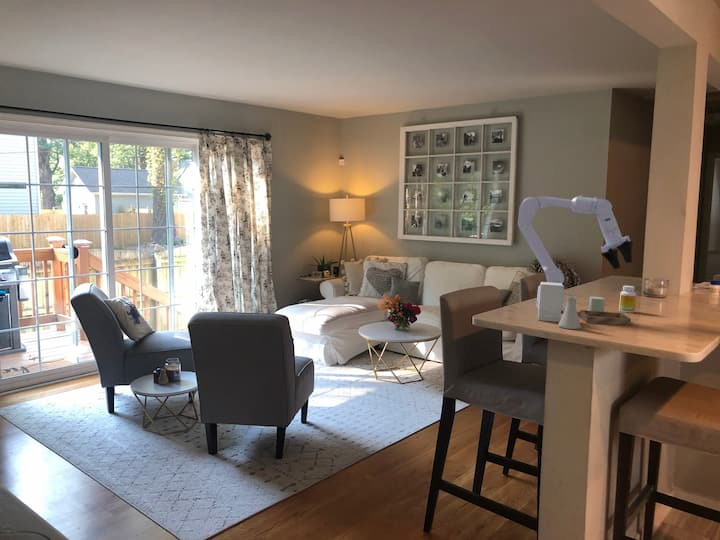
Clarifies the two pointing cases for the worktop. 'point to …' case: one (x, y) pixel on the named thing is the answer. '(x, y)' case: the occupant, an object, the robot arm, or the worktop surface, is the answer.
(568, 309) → the flask
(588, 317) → the tray
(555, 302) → the supplement box
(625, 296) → the supplement bottle
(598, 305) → the sage block
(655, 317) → the worktop surface
